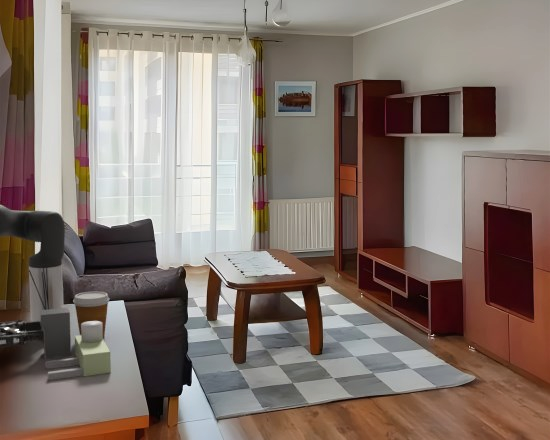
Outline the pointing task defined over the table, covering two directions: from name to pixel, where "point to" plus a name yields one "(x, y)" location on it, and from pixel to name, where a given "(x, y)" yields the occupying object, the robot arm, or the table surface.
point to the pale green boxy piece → (85, 354)
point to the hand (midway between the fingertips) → (42, 329)
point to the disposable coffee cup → (91, 308)
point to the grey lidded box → (56, 332)
